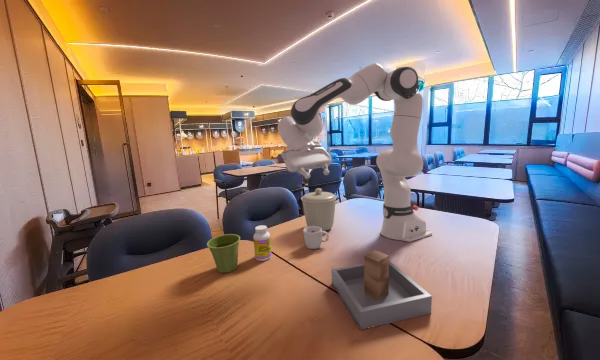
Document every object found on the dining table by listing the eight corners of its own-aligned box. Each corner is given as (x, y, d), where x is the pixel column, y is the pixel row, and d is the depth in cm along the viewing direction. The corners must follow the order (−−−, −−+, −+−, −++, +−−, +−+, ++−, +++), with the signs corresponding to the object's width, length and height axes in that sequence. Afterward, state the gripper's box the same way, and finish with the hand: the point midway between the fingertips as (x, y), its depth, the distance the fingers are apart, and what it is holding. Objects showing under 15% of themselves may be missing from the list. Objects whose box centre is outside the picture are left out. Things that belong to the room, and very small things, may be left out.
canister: (339, 234, 117) (338, 191, 113) (302, 235, 117) (300, 193, 114) (335, 221, 134) (334, 183, 131) (302, 222, 135) (300, 185, 131)
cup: (328, 242, 108) (328, 225, 107) (329, 250, 101) (328, 232, 99) (304, 242, 109) (303, 225, 108) (303, 251, 102) (302, 233, 100)
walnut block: (374, 286, 74) (374, 249, 72) (388, 294, 70) (388, 255, 68) (364, 292, 71) (364, 255, 69) (378, 301, 68) (378, 261, 65)
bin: (387, 272, 83) (387, 259, 82) (431, 313, 63) (431, 295, 63) (331, 283, 78) (331, 269, 78) (360, 330, 59) (360, 312, 58)
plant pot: (223, 258, 99) (220, 232, 97) (249, 262, 95) (246, 235, 93) (203, 274, 88) (199, 245, 86) (231, 279, 84) (227, 249, 82)
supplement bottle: (258, 263, 94) (255, 231, 91) (253, 256, 100) (250, 226, 97) (274, 258, 97) (271, 228, 94) (268, 252, 103) (266, 223, 100)
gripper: (281, 145, 89) (299, 174, 83) (323, 142, 101) (341, 167, 95) (276, 157, 93) (292, 185, 87) (316, 152, 105) (333, 177, 99)
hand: (318, 175), depth 91 cm, fingers open, 8 cm apart
